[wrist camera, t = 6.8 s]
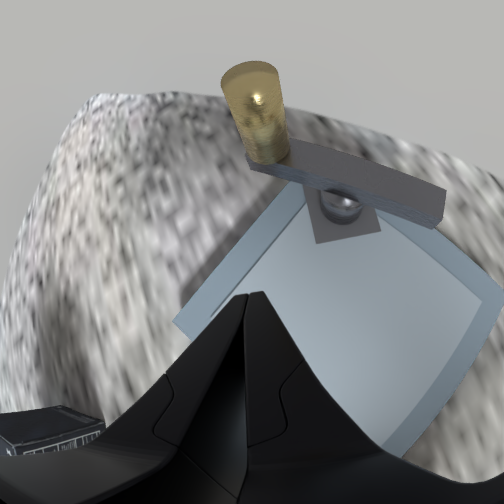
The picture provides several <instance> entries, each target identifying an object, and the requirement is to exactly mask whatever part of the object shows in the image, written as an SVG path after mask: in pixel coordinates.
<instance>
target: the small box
mask: <svg viewBox="0 0 504 504" xmlns="http://www.w3.org/2000/svg"><path fill="white" fill-rule="evenodd" d="M104 430H105V423H104V422H103V421H101V420H99V419H94V418H92V417H89V416H86V415H84V414H81V413H79V412H76V411H74V410H72V409H70V408H67V407H64V406H61V405H59V406H54V407H48V408H42V409H35V410H28V411H21V412H12V413H1V414H0V456H14V455H27V454H37V453H46V452H54V451H61V450H68V449H73V448H77V447H80V446H82V445H85V444H87V443H88V442H90V441H92V440H93V439H94V438H96V437H97V436H98V435H99V434H100V433H102V432H103V431H104Z"/></svg>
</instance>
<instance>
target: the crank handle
mask: <svg viewBox="0 0 504 504" xmlns="http://www.w3.org/2000/svg"><path fill="white" fill-rule="evenodd" d="M221 88H222V90H223V93H224V95H225V98H226V100H227V103H228V105H229V108H230V110H231V113H232V116H233V118H234V121H235V123H236V126H237V128H238V131H239V133H240V136H241V139H242V141H243V144H244V146H245V149H246V154H245V157H246V159H247V162H248V164H249V167H250V169H251V170H254V171H257V172H261V173H265V174H268V175H272V176H275V177H279V178H282V179H286V180H289V181H293V182H296V183H299V184H303V185H306V186H309V187H313V188H316V189H319V190H321V202H320V206H321V210H322V213H323V214H324V216H325V217H326V218H327V219H328V220H329V221H331V222H332V223H335V224H338V225H347V224H351V223H353V222H354V221H356V220H357V219H358V218H359V216H360V215H361V212H362V210H363V207H364V205H367V206H370V207H373V208H375V209H378V210H381V211H384V212H386V213H389V214H392V215H394V216H397V217H400V218H402V219H405V220H408V221H410V222H413V223H415V224H418V225H420V226H423V227H425V228H428V229H430V230H432V229H433V228H434V227H435V226H437V225H438V224H439V223H440V222H441V221H442V219H443V212H444V206H445V199H446V191H447V190H445V189H442V188H440V187H438V186H435V185H433V184H430V183H428V182H426V181H423V180H421V179H418V178H415V177H413V176H410V175H408V174H405V173H402V172H400V171H397V170H394V169H391V168H389V167H386V166H383V165H380V164H377V163H374V162H371V161H368V160H365V159H362V158H359V157H356V156H353V155H350V154H346V153H343V152H340V151H336V150H333V149H330V148H326V147H323V146H319V145H315V144H312V143H308V142H304V141H300V140H296V139H292V138H289V135H288V129H287V122H286V116H285V110H284V104H283V98H282V93H281V87H280V81H279V76H278V72H277V70H276V68H275V67H274V66H272V65H271V64H269V63H266V62H262V61H249V62H244V63H241V64H238V65H236V66H234V67H232V68H231V69H229V70H228V71H227V72H226V73H225V74H224V76H223V77H222V79H221Z"/></svg>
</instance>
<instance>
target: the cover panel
mask: <svg viewBox="0 0 504 504" xmlns="http://www.w3.org/2000/svg"><path fill="white" fill-rule="evenodd" d="M320 202H321V190H319V189H316V188H313V187H309V186H306V185H303V184H299V183H296V182H293V181H289V182H288V184H287V185H286V186H285V187H284V188H283V189H282V191H281V192H280V193H279V194H278V195H277V196H276V198H275V199H274V200H273V201H272V202H271V203H270V205H269V206H268V207H267V208H266V209H265V210H264V212H263V213H262V214H261V215H260V216H259V217H258V219H257V220H256V221H255V222H254V223H253V225H252V226H251V227H250V228H249V229H248V230H247V232H246V233H245V234H244V235H243V236H242V238H241V239H240V240H239V241H238V242H237V243H236V245H235V246H234V247H233V248H232V249H231V251H230V252H229V253H228V254H227V255H226V257H225V258H224V259H223V260H222V261H221V263H220V264H219V265H218V266H217V267H216V269H215V270H214V271H213V272H212V273H211V275H210V276H209V277H208V278H207V279H206V281H205V282H204V283H203V284H202V285H201V287H200V288H199V289H198V290H197V291H196V293H195V294H194V295H193V296H192V297H191V299H190V300H189V301H188V302H187V304H186V305H185V306H184V307H183V308H182V310H181V311H180V312H179V313H178V314H177V316H176V317H175V318H174V319H173V321H172V322H173V323H174V324H175V325H176V326H177V327H178V328H179V329H180V330H181V331H182V332H183V333H184V334H185V335H186V336H187V337H188V338H189V339H190V340H191V341H192V342H193V341H194V340H195V339H196V337H197V336H198V335H199V334H200V333H201V332H202V331H203V330H204V329H205V327H206V326H207V325H208V324H209V323H210V322H211V321H212V320H213V318H214V317H215V316H216V315H217V314H218V313H219V312H220V311H221V310H222V308H223V307H224V306H225V305H226V304H227V303H228V302H229V301H230V299H231V298H232V297H233V296H234V295H238V294H245V293H248V294H250V293H251V292H257V291H264V292H265V294H266V295H267V297H268V299H269V300H270V302H271V304H272V305H273V307H274V309H275V310H276V312H277V314H278V315H279V317H280V318H281V320H282V322H283V323H284V325H285V327H286V328H287V330H288V332H289V333H290V335H291V337H292V338H293V340H294V341H295V343H296V345H297V346H298V348H299V350H300V351H301V353H302V355H303V356H304V358H305V360H306V361H307V362H308V364H309V366H310V367H311V369H312V371H313V372H314V373H315V375H316V376H317V378H318V379H319V381H320V382H321V384H322V385H323V386H324V387H325V389H326V390H327V391H328V392H329V394H330V395H331V396H332V397H333V398H334V400H335V401H336V402H337V403H338V404H339V405H340V406H341V407H342V408H343V410H344V411H345V412H346V413H347V414H348V415H349V416H350V417H351V418H352V419H353V420H354V422H355V423H356V424H357V425H358V426H359V427H360V428H361V429H362V430H363V431H364V432H365V433H366V434H367V435H368V436H369V437H370V438H371V439H372V440H373V441H374V442H375V443H376V444H377V445H379V446H380V447H381V448H383V449H384V450H385V451H387V452H389V453H391V454H393V455H395V456H397V457H399V458H401V457H402V456H403V455H404V454H405V453H406V452H407V450H408V449H409V448H410V447H411V446H412V445H413V444H414V443H415V441H416V440H417V439H418V438H419V437H420V436H421V434H422V433H423V432H424V431H425V430H426V428H427V427H428V426H429V425H430V424H431V422H432V421H433V420H434V418H435V417H436V416H437V415H438V413H439V412H440V411H441V409H442V408H443V407H444V405H445V404H446V403H447V401H448V400H449V398H450V397H451V396H452V394H453V393H454V391H455V390H456V388H457V387H458V385H459V384H460V382H461V381H462V379H463V378H464V376H465V375H466V373H467V372H468V370H469V368H470V367H471V365H472V364H473V362H474V360H475V359H476V357H477V355H478V353H479V352H480V350H481V348H482V346H483V345H484V343H485V341H486V339H487V337H488V335H489V333H490V332H491V330H492V328H493V326H494V324H495V322H496V320H497V318H498V316H499V313H500V311H501V309H502V307H503V305H504V290H503V289H502V288H501V287H500V286H499V285H498V284H497V283H496V282H495V281H494V280H493V279H492V278H491V277H490V276H489V275H488V274H487V273H486V272H485V271H483V270H482V269H481V268H480V267H479V266H478V265H477V264H476V263H475V262H474V261H473V260H471V259H470V258H469V257H468V256H467V255H466V254H465V253H464V252H462V251H461V250H460V249H459V248H458V247H457V246H455V245H454V244H453V243H452V242H451V241H449V240H448V239H447V238H446V237H445V236H443V235H442V234H441V233H440V232H439V231H437V230H436V229H435V228H433V229H432V230H430V229H428V228H425V227H423V226H420V225H418V224H415V223H413V222H410V221H408V220H405V219H402V218H400V217H397V216H394V215H392V214H389V213H386V212H384V211H381V210H378V209H375V208H373V207H370V206H367V205H364V207H363V210H362V212H361V215H360V216H359V218H358V219H357V220H356V221H354V222H353V223H351V224H347V225H338V224H335V223H332V222H331V221H329V220H328V219H327V218H326V217H325V216H324V214H323V213H322V210H321V206H320Z"/></svg>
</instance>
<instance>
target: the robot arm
mask: <svg viewBox="0 0 504 504" xmlns="http://www.w3.org/2000/svg"><path fill="white" fill-rule="evenodd" d="M0 504H504V472H503V473H501V474H500V475H498V476H496V477H494V478H492V479H489V480H487V481H484V482H478V483H460V482H456V481H453V480H450V479H447V478H445V477H442V476H440V475H437V474H435V473H433V472H430V471H428V470H426V469H423V468H421V467H419V466H416V465H414V464H412V463H410V462H408V461H405V460H403V459H401V458H399V457H397V456H395V455H393V454H391V453H389V452H387V451H385V450H384V449H383V448H381V447H380V446H379V445H377V444H376V443H375V442H374V441H373V440H372V439H371V438H370V437H369V436H368V435H367V434H366V433H365V432H364V431H363V430H362V429H361V428H360V427H359V426H358V425H357V424H356V423H355V422H354V420H353V419H352V418H351V417H350V416H349V415H348V414H347V413H346V412H345V411H344V410H343V408H342V407H341V406H340V405H339V404H338V403H337V402H336V401H335V400H334V398H333V397H332V396H331V395H330V394H329V392H328V391H327V390H326V389H325V387H324V386H323V385H322V384H321V382H320V381H319V379H318V378H317V376H316V375H315V373H314V372H313V371H312V369H311V367H310V366H309V364H308V362H307V361H306V360H305V358H304V356H303V355H302V353H301V351H300V350H299V348H298V346H297V345H296V343H295V341H294V340H293V338H292V337H291V335H290V333H289V332H288V330H287V328H286V327H285V325H284V323H283V322H282V320H281V318H280V317H279V315H278V314H277V312H276V310H275V309H274V307H273V305H272V304H271V302H270V300H269V299H268V297H267V295H266V294H265V292H264V291H257V292H251V293H250V294H248V293H245V294H238V295H234V296H233V297H232V298H231V299H230V301H229V302H228V303H227V304H226V305H225V306H224V307H223V308H222V310H221V311H220V312H219V313H218V314H217V315H216V316H215V317H214V318H213V320H212V321H211V322H210V323H209V324H208V325H207V326H206V327H205V329H204V330H203V331H202V332H201V333H200V334H199V335H198V336H197V337H196V339H195V340H194V341H193V342H192V343H191V344H190V345H189V346H188V347H187V349H186V350H185V351H184V352H183V353H182V354H181V355H180V356H179V357H178V359H177V360H176V361H175V362H174V363H173V364H172V365H171V366H170V367H169V368H168V370H167V371H166V374H163V375H162V376H161V377H160V378H159V379H158V380H157V381H156V383H155V384H154V385H153V386H152V387H151V388H150V389H149V390H148V391H147V392H146V393H145V394H144V395H143V396H142V397H141V398H140V399H139V400H138V401H137V402H136V403H134V404H133V405H132V406H131V407H130V408H129V409H128V410H127V411H126V412H125V413H123V414H122V415H121V416H120V417H119V418H118V419H117V420H115V421H114V422H113V423H112V424H111V425H110V426H109V427H107V428H106V429H105V430H104V431H103V432H102V433H100V434H99V435H98V436H97V437H96V438H94V439H93V440H92V441H90V442H88V443H87V444H85V445H82V446H80V447H77V448H73V449H68V450H61V451H54V452H46V453H37V454H27V455H14V456H0Z"/></svg>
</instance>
